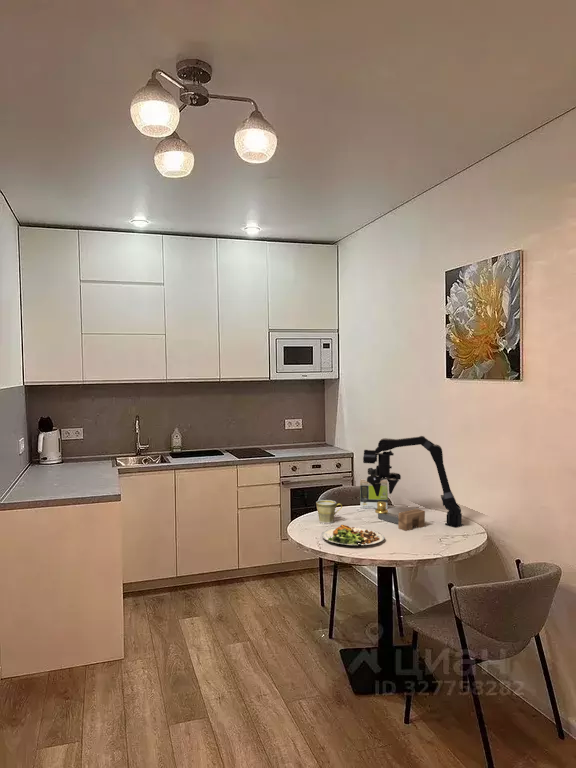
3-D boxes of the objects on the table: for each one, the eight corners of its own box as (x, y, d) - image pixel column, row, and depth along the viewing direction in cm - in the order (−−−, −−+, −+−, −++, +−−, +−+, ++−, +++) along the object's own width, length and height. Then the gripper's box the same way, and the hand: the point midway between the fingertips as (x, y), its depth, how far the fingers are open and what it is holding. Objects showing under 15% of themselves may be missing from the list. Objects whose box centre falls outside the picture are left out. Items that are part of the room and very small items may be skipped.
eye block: (424, 526, 275) (424, 511, 275) (406, 530, 268) (406, 515, 268) (416, 524, 279) (416, 509, 279) (398, 528, 272) (398, 512, 272)
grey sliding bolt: (408, 523, 279) (408, 507, 279) (399, 525, 276) (399, 509, 275) (381, 515, 294) (381, 500, 294) (372, 517, 290) (372, 502, 290)
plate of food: (338, 552, 236) (339, 538, 236) (311, 534, 262) (311, 520, 262) (396, 547, 247) (397, 533, 247) (364, 529, 272) (365, 517, 272)
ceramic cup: (316, 525, 277) (316, 504, 277) (315, 519, 287) (315, 499, 287) (343, 524, 278) (343, 504, 278) (340, 519, 288) (340, 499, 288)
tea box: (387, 505, 319) (387, 478, 319) (387, 509, 309) (388, 482, 309) (360, 504, 321) (360, 478, 321) (359, 508, 311) (360, 481, 311)
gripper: (385, 460, 297) (385, 489, 297) (359, 463, 286) (359, 494, 286) (401, 463, 288) (401, 493, 288) (375, 466, 277) (375, 498, 277)
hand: (383, 494), depth 285 cm, fingers open, 9 cm apart
